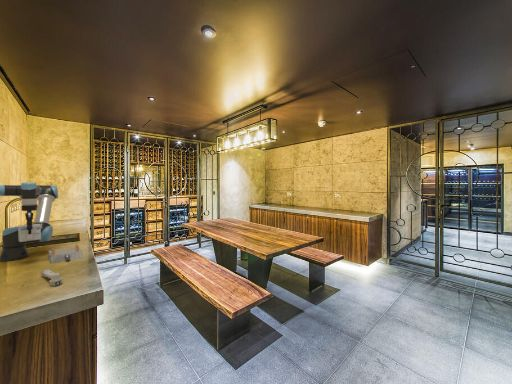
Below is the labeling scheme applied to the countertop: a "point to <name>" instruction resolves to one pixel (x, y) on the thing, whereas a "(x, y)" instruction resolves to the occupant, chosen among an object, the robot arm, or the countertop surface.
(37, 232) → the light bulb box
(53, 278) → the flashlight
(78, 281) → the countertop surface
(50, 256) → the orange-striped white panel
